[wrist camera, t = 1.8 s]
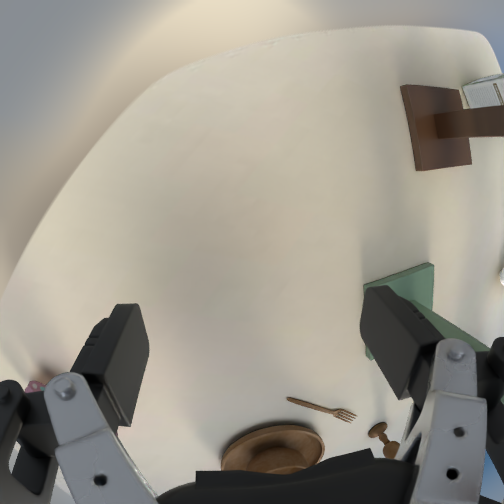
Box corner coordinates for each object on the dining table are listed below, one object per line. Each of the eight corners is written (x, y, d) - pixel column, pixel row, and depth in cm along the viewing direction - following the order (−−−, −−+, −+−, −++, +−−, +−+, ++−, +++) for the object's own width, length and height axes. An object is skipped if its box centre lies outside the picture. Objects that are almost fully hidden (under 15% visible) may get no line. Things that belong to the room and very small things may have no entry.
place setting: (272, 387, 26) (289, 430, 21) (392, 420, 32) (415, 447, 26) (192, 477, 28) (195, 515, 23) (313, 494, 34) (325, 521, 28)
